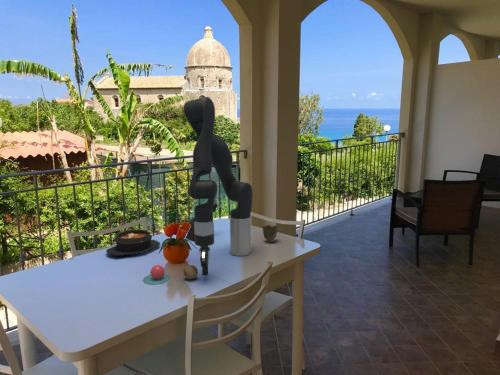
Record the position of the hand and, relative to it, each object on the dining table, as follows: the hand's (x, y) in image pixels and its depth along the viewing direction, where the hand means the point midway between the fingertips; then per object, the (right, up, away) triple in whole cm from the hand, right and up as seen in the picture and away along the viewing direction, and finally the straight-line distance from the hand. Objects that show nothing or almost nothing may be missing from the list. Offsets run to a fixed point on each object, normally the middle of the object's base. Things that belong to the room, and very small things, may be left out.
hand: (205, 274), depth 150 cm
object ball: (-18, +1, -1) cm, 18 cm away
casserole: (-37, +4, +32) cm, 49 cm away
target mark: (-19, -2, 0) cm, 19 cm away
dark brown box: (-8, +8, +52) cm, 53 cm away
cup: (+27, +6, +44) cm, 52 cm away
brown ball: (-6, +1, -1) cm, 6 cm away
